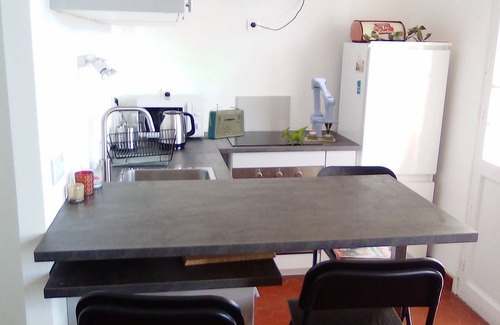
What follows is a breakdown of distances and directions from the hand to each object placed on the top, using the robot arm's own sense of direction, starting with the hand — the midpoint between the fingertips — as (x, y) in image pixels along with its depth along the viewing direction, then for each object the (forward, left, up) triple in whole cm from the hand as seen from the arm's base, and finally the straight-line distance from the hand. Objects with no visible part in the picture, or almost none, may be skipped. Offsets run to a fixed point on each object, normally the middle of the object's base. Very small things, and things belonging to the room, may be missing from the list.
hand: (327, 133), depth 349 cm
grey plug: (0, 0, -4) cm, 4 cm away
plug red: (0, -11, -2) cm, 11 cm away
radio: (+5, -74, -6) cm, 74 cm away
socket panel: (0, -6, -6) cm, 8 cm away
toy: (+21, -23, -6) cm, 31 cm away
